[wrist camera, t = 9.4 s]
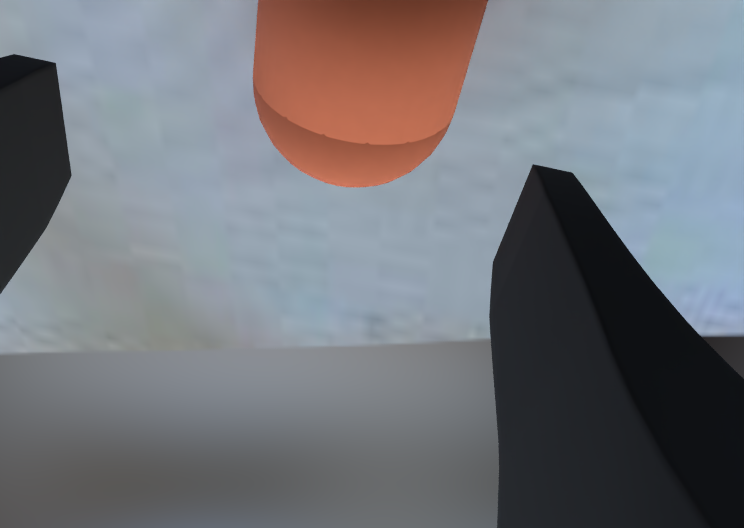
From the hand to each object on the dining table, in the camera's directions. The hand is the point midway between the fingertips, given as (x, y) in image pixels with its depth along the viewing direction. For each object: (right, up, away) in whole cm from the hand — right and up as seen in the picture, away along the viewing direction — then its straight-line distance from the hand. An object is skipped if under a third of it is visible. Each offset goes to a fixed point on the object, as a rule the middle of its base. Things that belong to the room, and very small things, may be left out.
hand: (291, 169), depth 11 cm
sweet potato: (+1, +6, +6) cm, 9 cm away
